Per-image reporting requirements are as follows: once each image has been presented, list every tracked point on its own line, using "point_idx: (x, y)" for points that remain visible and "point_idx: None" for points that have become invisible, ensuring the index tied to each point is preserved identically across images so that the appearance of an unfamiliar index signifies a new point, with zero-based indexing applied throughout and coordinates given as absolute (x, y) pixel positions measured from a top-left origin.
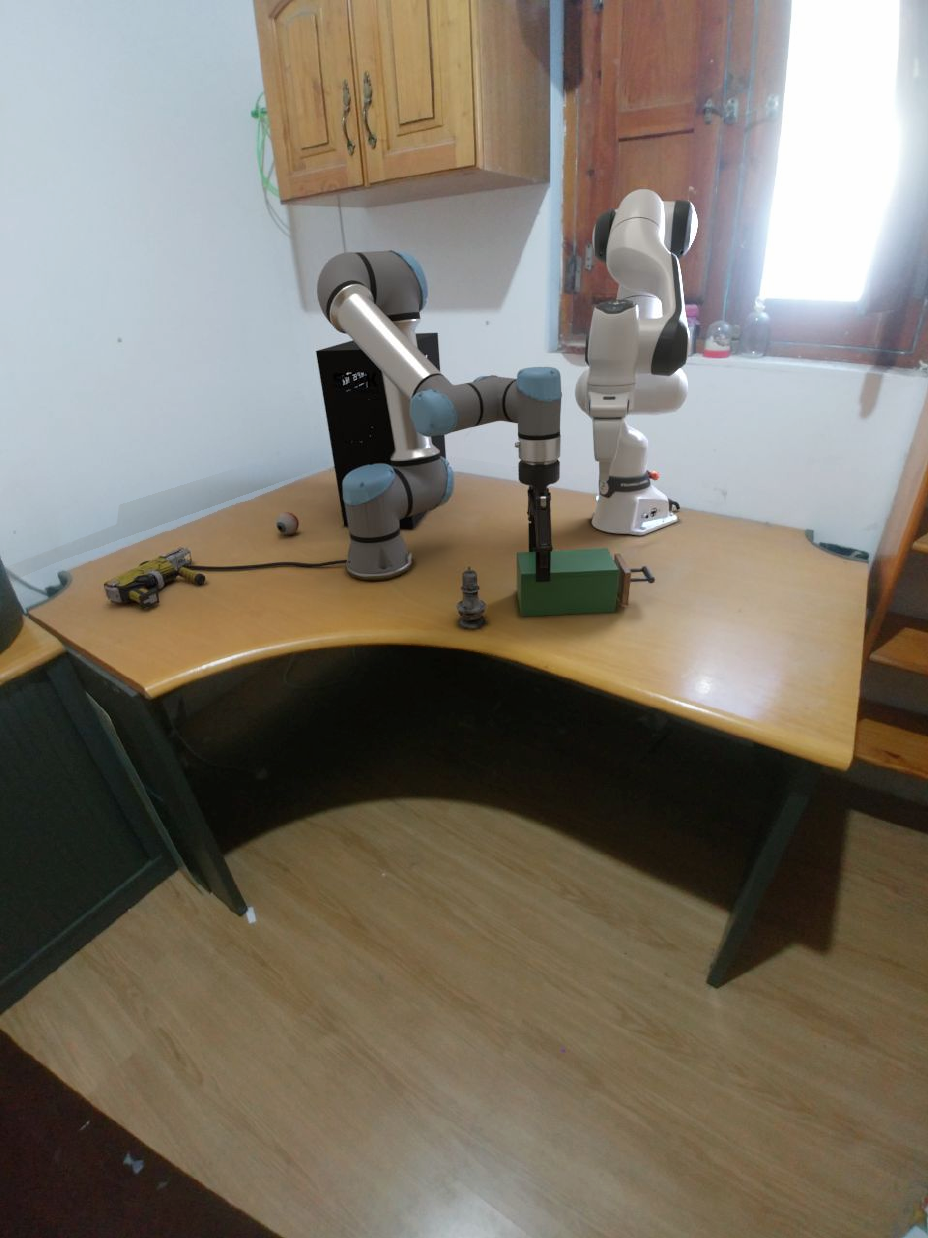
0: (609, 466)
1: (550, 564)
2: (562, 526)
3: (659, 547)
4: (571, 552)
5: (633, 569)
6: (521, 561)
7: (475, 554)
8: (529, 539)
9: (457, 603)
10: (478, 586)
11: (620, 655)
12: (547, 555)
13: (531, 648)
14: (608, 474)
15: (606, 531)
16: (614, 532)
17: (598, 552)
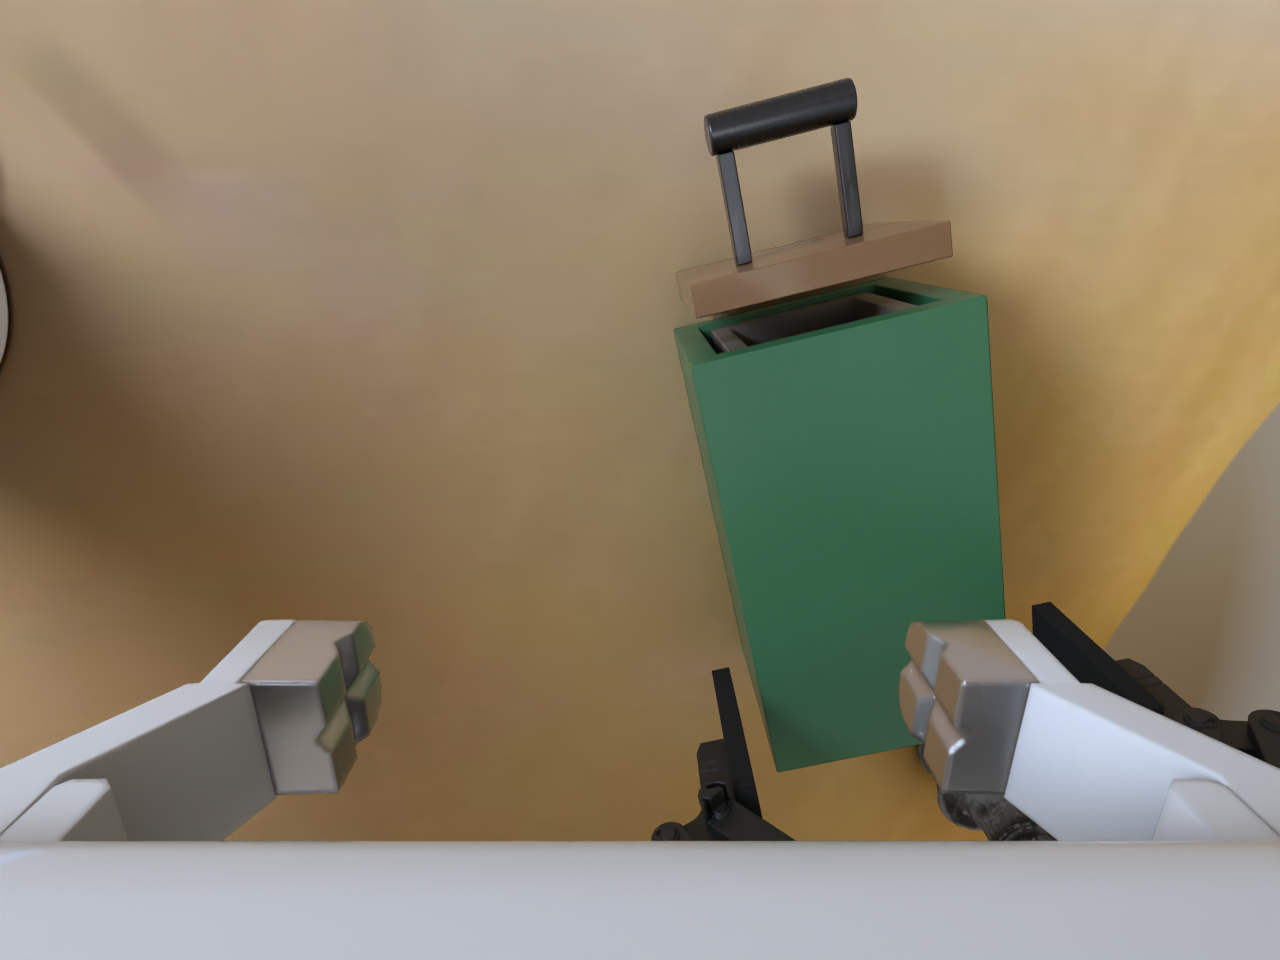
0: (1228, 753)
1: (1105, 652)
2: (15, 559)
3: (109, 27)
4: (766, 547)
5: (738, 201)
6: (880, 742)
7: (440, 829)
8: (751, 768)
9: (971, 829)
10: (1022, 829)
11: (1216, 250)
12: (1184, 704)
13: (1134, 553)
14: (1052, 662)
15: (4, 342)
16: (2, 298)
17: (759, 412)
